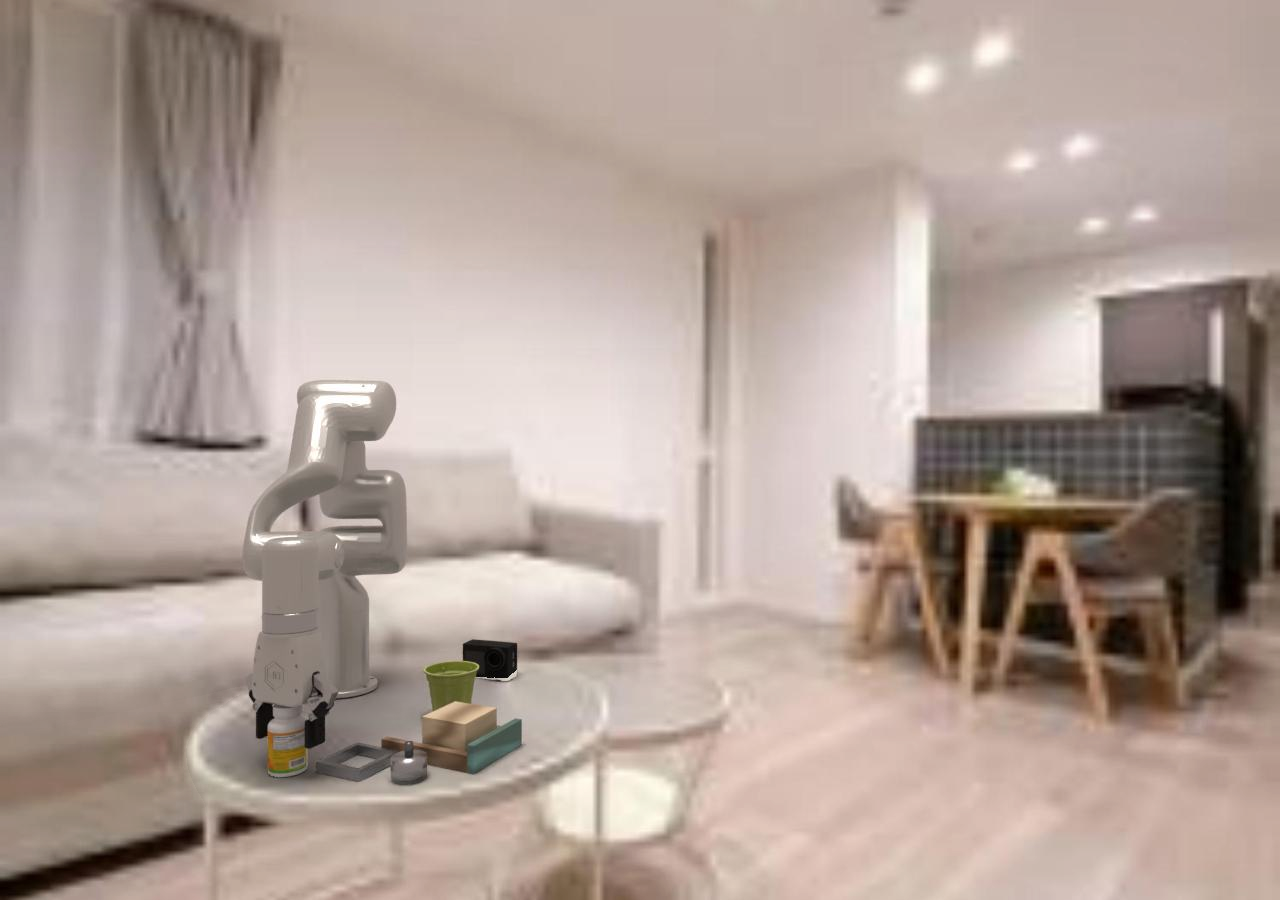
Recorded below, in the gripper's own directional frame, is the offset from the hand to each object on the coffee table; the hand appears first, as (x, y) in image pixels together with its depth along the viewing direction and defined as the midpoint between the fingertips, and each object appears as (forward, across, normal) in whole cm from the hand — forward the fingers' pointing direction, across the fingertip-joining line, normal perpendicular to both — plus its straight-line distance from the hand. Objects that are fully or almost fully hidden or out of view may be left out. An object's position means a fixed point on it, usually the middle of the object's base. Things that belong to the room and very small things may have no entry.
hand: (290, 740), depth 116 cm
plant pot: (+4, +7, +28) cm, 29 cm away
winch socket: (+4, +12, +5) cm, 14 cm away
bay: (+4, +16, +16) cm, 23 cm away
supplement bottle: (+5, 0, 0) cm, 5 cm away
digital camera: (+4, -2, +51) cm, 51 cm away
